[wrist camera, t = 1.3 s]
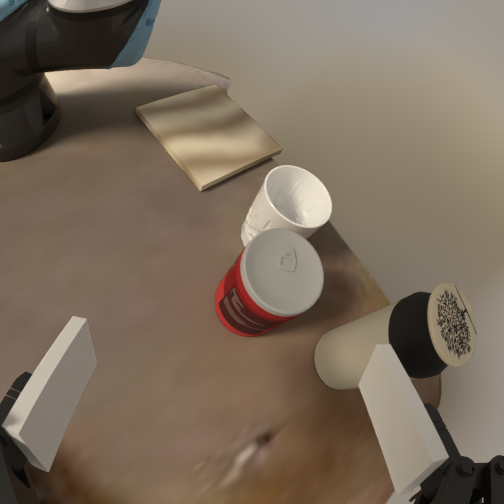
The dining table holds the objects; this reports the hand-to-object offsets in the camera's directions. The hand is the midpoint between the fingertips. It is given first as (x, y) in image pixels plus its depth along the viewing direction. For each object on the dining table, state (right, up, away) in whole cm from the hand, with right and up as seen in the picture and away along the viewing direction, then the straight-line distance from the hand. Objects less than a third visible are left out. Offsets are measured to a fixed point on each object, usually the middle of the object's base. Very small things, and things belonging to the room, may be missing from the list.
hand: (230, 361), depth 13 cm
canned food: (0, -1, +22) cm, 23 cm away
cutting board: (-6, +24, +32) cm, 40 cm away
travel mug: (+12, -9, +23) cm, 28 cm away
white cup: (+3, +6, +27) cm, 28 cm away
